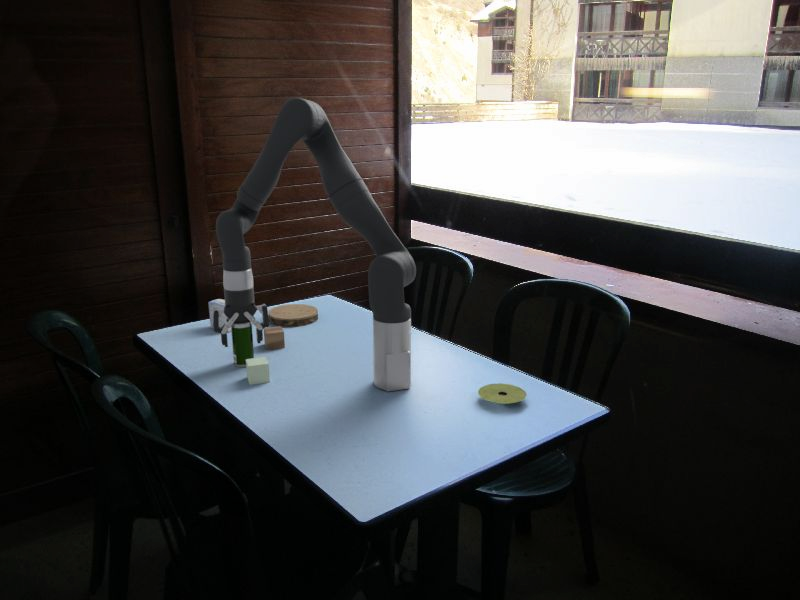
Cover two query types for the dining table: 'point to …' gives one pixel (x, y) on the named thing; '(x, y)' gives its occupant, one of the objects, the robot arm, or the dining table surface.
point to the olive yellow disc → (502, 393)
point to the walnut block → (274, 338)
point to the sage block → (257, 370)
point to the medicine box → (219, 305)
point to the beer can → (242, 343)
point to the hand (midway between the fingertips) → (242, 344)
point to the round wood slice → (293, 315)
